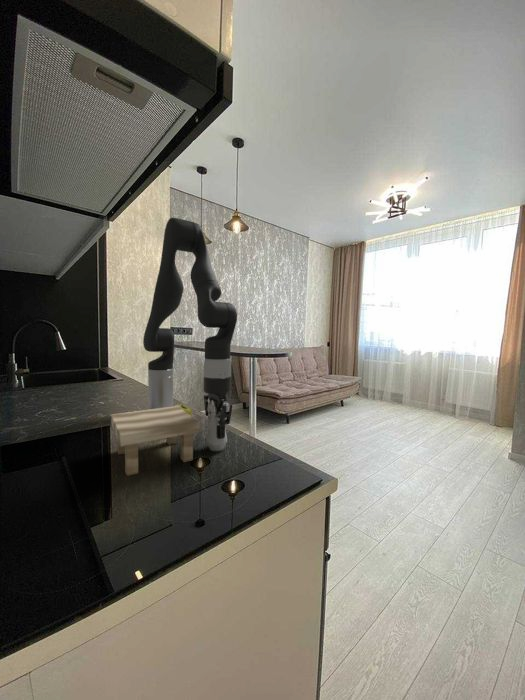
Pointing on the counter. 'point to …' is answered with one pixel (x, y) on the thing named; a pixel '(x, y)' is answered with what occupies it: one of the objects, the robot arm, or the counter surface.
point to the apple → (185, 409)
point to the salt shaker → (214, 434)
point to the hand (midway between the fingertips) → (216, 435)
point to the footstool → (153, 432)
